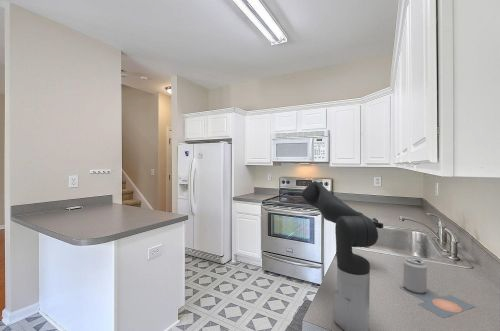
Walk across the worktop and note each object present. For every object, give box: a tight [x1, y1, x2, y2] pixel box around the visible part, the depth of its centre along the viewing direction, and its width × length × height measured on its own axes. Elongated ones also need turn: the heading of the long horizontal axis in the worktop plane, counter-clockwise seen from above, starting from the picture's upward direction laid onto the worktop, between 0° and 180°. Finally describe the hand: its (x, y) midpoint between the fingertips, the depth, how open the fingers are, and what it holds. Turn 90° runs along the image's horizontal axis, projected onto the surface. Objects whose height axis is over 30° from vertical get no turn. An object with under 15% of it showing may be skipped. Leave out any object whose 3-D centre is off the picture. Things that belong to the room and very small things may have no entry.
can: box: [402, 256, 428, 294], centre depth 92 cm, size 8×8×12 cm
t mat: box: [399, 286, 476, 319], centre depth 86 cm, size 18×18×1 cm
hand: (382, 226), depth 105 cm, fingers closed
